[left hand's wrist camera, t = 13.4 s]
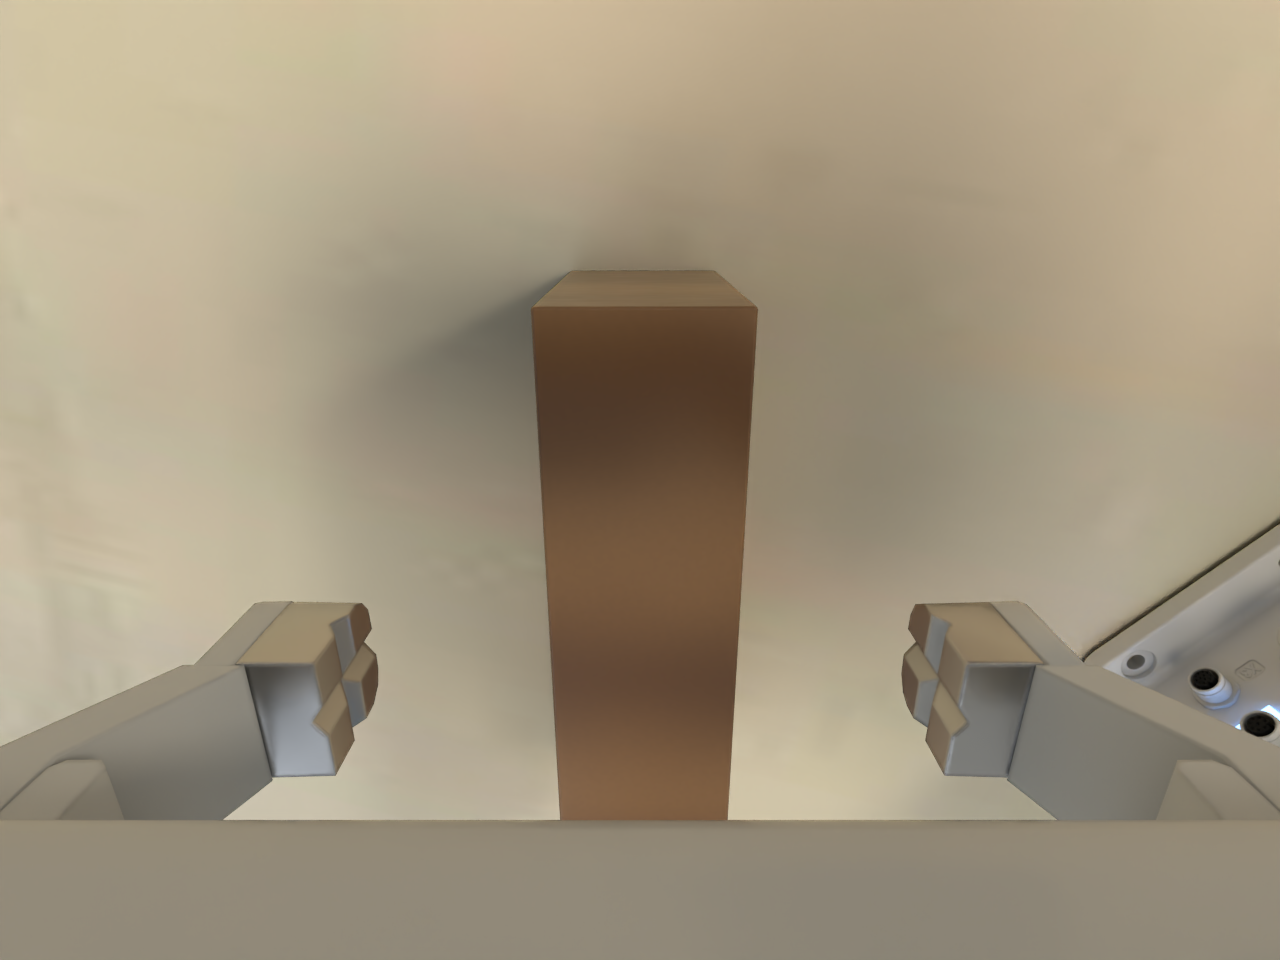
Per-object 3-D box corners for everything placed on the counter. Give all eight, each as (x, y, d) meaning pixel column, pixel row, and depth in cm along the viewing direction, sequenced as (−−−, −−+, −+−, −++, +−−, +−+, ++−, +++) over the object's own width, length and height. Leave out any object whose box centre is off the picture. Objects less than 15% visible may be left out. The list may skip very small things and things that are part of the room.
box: (569, 270, 29) (529, 306, 18) (716, 270, 29) (758, 306, 18) (586, 724, 37) (565, 924, 27) (699, 724, 37) (721, 924, 27)
